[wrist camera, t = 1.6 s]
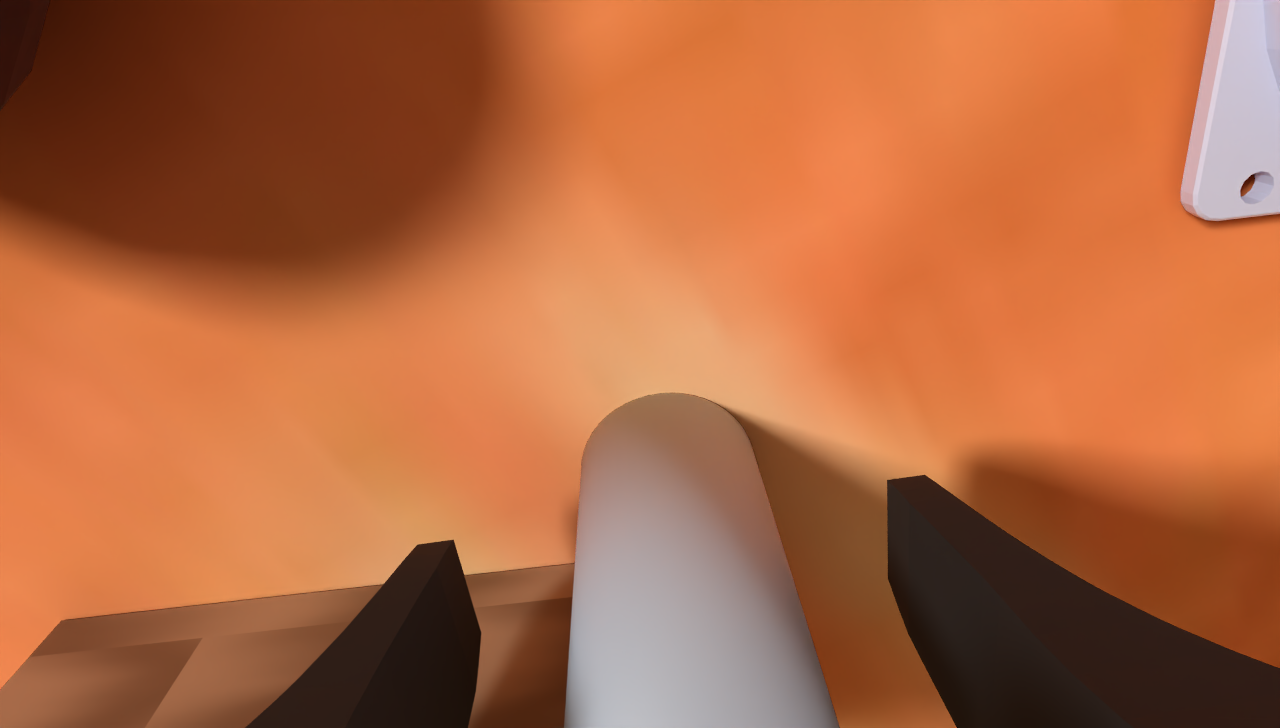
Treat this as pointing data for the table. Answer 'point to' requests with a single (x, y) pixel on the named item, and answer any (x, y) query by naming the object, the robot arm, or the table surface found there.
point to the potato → (18, 41)
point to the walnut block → (279, 658)
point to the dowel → (684, 582)
